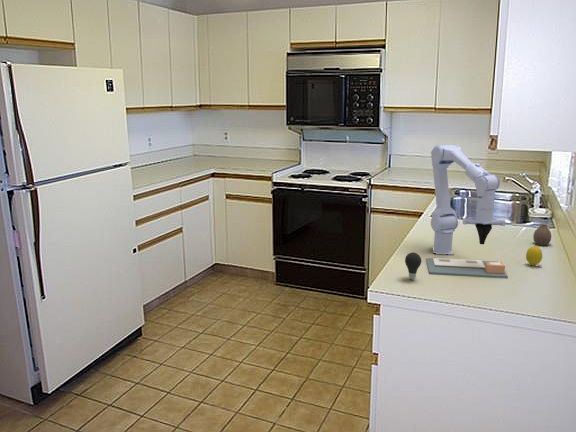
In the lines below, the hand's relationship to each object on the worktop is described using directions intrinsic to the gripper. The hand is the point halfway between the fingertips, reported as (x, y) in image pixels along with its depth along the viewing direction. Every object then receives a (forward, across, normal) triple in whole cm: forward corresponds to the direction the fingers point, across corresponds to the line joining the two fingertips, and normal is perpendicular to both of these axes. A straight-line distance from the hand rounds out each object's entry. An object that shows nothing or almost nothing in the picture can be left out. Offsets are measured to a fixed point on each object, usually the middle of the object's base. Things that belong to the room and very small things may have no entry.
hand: (481, 243), depth 187 cm
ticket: (+10, -8, +2) cm, 12 cm away
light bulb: (+10, -25, -16) cm, 31 cm away
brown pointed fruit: (+10, +31, +36) cm, 49 cm away
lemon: (+10, +20, +7) cm, 24 cm away
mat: (+10, -6, -1) cm, 11 cm away
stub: (+10, +4, -5) cm, 12 cm away
